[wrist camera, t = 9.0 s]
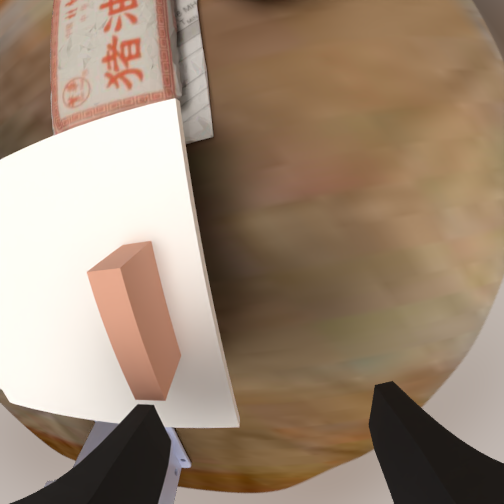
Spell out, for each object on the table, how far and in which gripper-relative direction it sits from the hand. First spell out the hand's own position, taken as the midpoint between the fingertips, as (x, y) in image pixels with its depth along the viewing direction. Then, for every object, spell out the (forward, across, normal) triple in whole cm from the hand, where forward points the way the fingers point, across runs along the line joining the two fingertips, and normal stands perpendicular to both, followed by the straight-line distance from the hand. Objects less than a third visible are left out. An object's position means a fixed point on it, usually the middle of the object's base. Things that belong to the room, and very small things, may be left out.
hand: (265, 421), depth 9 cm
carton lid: (+4, +10, -3) cm, 11 cm away
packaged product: (+11, +6, -18) cm, 22 cm away
